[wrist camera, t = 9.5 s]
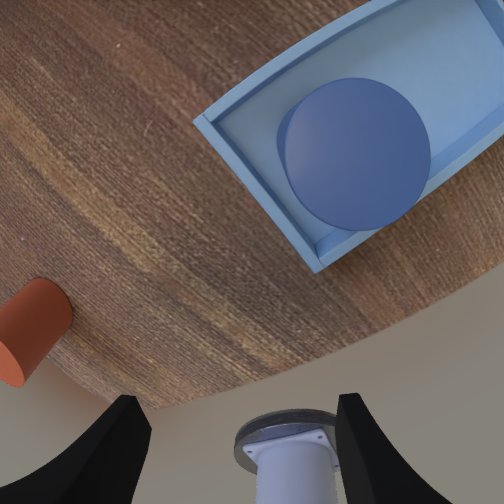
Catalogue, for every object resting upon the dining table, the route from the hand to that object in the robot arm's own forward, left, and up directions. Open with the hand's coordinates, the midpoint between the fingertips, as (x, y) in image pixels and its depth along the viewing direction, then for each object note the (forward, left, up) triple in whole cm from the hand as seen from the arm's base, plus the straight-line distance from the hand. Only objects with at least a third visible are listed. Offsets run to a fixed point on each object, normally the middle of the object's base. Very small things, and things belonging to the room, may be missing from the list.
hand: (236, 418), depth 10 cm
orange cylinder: (+4, +15, -9) cm, 18 cm away
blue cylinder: (+6, -7, -9) cm, 13 cm away
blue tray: (+8, -12, -9) cm, 17 cm away
